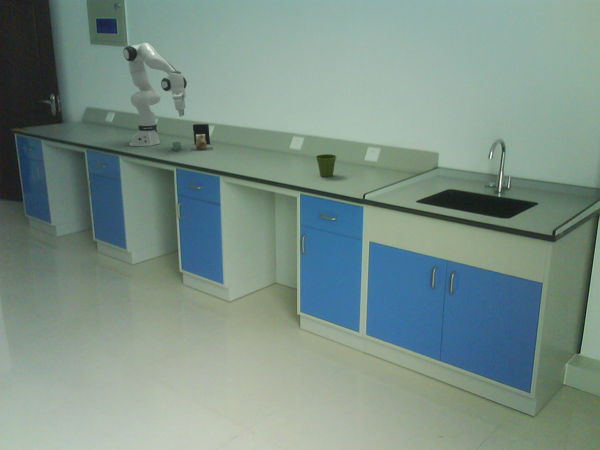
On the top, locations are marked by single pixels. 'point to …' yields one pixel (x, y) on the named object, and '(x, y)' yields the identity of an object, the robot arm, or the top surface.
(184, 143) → the top surface
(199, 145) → the bottom block
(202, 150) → the mat
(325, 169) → the plant pot
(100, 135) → the top surface
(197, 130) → the black upright flat panel
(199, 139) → the top block
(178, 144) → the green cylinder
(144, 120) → the robot arm
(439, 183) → the top surface
